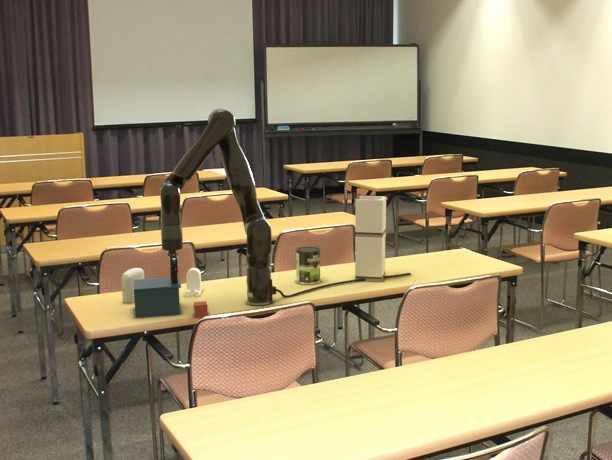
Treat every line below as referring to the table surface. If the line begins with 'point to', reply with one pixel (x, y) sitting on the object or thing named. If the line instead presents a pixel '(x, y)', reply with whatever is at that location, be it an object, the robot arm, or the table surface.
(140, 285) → the freezer lid
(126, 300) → the photo printer
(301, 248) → the coffee can
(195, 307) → the block
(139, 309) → the box
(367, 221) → the tall white pillar box
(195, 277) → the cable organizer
